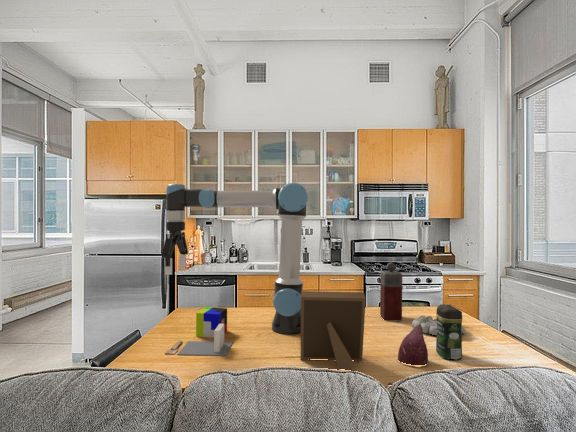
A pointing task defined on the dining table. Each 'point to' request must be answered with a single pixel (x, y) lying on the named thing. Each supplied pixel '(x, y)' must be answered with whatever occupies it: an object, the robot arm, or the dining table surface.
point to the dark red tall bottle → (391, 294)
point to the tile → (218, 338)
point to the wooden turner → (174, 348)
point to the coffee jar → (449, 332)
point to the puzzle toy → (210, 321)
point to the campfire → (429, 325)
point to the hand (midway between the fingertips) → (175, 271)
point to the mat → (204, 348)
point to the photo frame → (332, 326)
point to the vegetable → (413, 348)
